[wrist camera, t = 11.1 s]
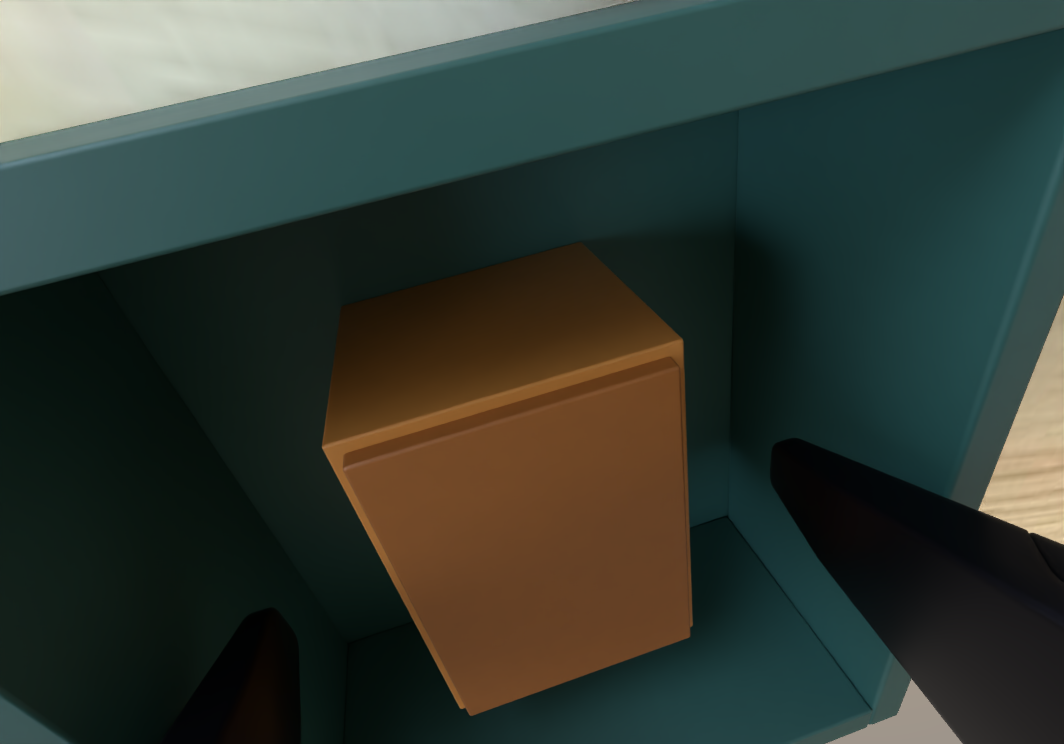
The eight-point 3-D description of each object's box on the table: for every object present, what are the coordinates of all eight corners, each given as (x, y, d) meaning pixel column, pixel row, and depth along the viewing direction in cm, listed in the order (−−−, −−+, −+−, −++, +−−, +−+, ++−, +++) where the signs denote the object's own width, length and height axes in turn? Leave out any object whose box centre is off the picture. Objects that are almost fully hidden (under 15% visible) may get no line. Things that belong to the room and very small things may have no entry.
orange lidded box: (581, 240, 11) (695, 349, 7) (614, 481, 15) (700, 640, 11) (340, 305, 11) (318, 462, 7) (438, 538, 14) (462, 727, 10)
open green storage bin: (755, -26, 10) (1233, -118, 4) (735, 506, 18) (898, 715, 12) (-15, 146, 9) (-746, 331, 3) (332, 641, 17) (309, 948, 11)
